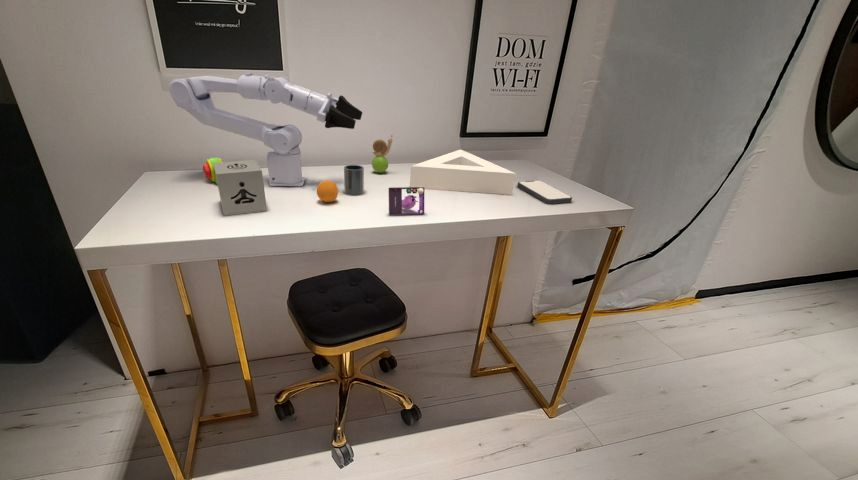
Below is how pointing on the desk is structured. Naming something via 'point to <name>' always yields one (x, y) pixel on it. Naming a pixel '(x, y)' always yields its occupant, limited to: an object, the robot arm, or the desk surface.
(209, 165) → the red green curved piece
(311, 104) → the robot arm
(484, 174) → the triangle block
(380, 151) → the snail figurine
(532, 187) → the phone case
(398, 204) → the purple product box
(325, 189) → the ball
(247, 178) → the icon cube
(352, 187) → the cup
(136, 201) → the desk surface
